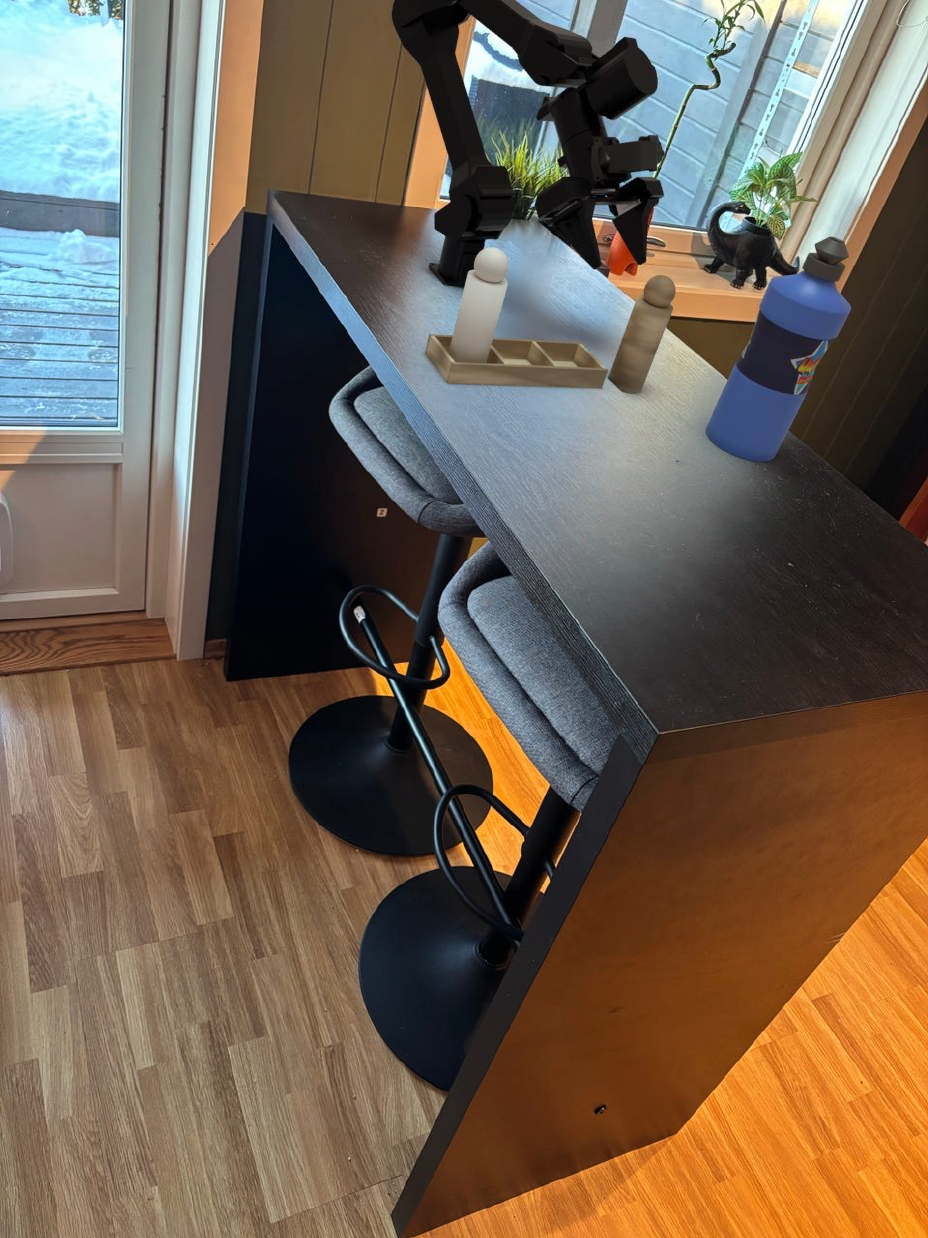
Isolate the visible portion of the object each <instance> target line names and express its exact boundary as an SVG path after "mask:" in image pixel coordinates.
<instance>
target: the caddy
mask: <svg viewBox="0 0 928 1238" xmlns="http://www.w3.org/2000/svg"><path fill="white" fill-rule="evenodd" d="M452 336H453V334H452V335H451V334H437V333H436V334H435V333H433V334H432V333H429V334H428V339H427V343H426V346H425V351H424V354H425V356H426V357H427V358H428V360H429V361H430V362H431V363H432V365H433V366H434V367H435V369H436V370H437V371H438V372H439V374H440V375H441V377H442V378H443V379H444V381H445V382H446V383H447V384H448V385H450V384H451V385H475V386H481V385H482V386H483V385H484V386H509V387H512V386H513V387H515V386H517V387H538V388H539V387H541V388H542V387H546V388H547V387H548V388H575V389H578V388H579V389H603V386H604V383H605V381H606V378H607V377H608V374H609V369H608V368H607V367H606V366H605V365H604V364H603V363H602V362H601V361H599V359H597V357H595V355H594V354H592V353H591V352H590V350H588V349H587V347H585V346H584V345H583V344H582V343H581V342H576V341H575V342H574V341H562V340H559V341H557V340H543V339H542V340H541V339H540V340H539V339H526V338H525V339H524V338H506V337H505V338H504V337H503V338H502V337H493V341H492V344H491V348H490V352H489V355H488V359H487V363H467V362H455V361H454V360H453V358H452V357H451V356H450V355H449V349H450V345H451V340H452Z"/></svg>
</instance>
